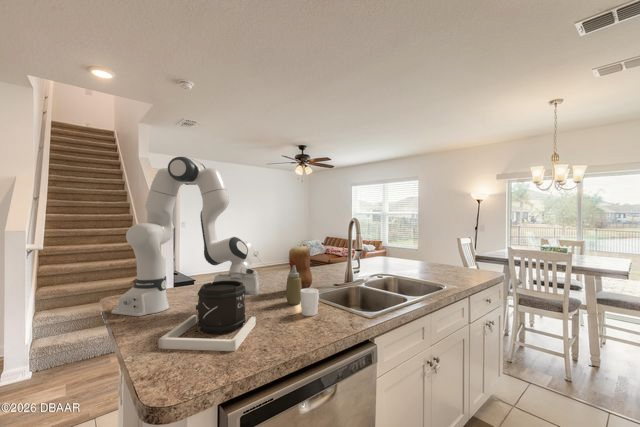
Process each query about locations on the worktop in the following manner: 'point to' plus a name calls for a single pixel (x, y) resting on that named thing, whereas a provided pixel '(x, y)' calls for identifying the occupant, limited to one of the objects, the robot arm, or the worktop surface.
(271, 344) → the worktop surface
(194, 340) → the bay
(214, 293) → the black short wide cylinder
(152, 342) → the worktop surface
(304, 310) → the white cup
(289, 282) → the squeeze bottle
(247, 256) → the robot arm
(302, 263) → the butternut squash
